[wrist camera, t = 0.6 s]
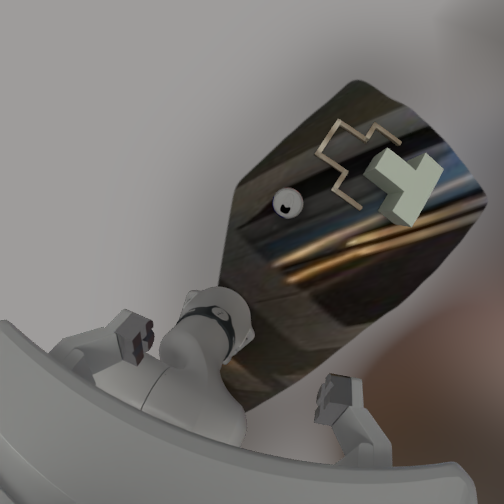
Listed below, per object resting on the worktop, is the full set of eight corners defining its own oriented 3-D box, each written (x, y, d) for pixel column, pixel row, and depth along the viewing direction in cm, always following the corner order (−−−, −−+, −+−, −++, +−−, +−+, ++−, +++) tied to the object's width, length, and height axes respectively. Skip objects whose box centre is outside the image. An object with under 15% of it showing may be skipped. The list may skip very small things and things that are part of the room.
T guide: (359, 210, 55) (360, 210, 54) (303, 171, 56) (303, 171, 55) (400, 143, 51) (401, 141, 50) (346, 105, 52) (347, 104, 51)
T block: (394, 224, 54) (411, 227, 44) (352, 191, 55) (362, 188, 45) (423, 174, 51) (443, 169, 41) (382, 141, 52) (397, 130, 42)
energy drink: (273, 211, 58) (267, 211, 46) (283, 188, 57) (278, 182, 45) (296, 221, 58) (296, 223, 46) (306, 198, 57) (308, 194, 45)
